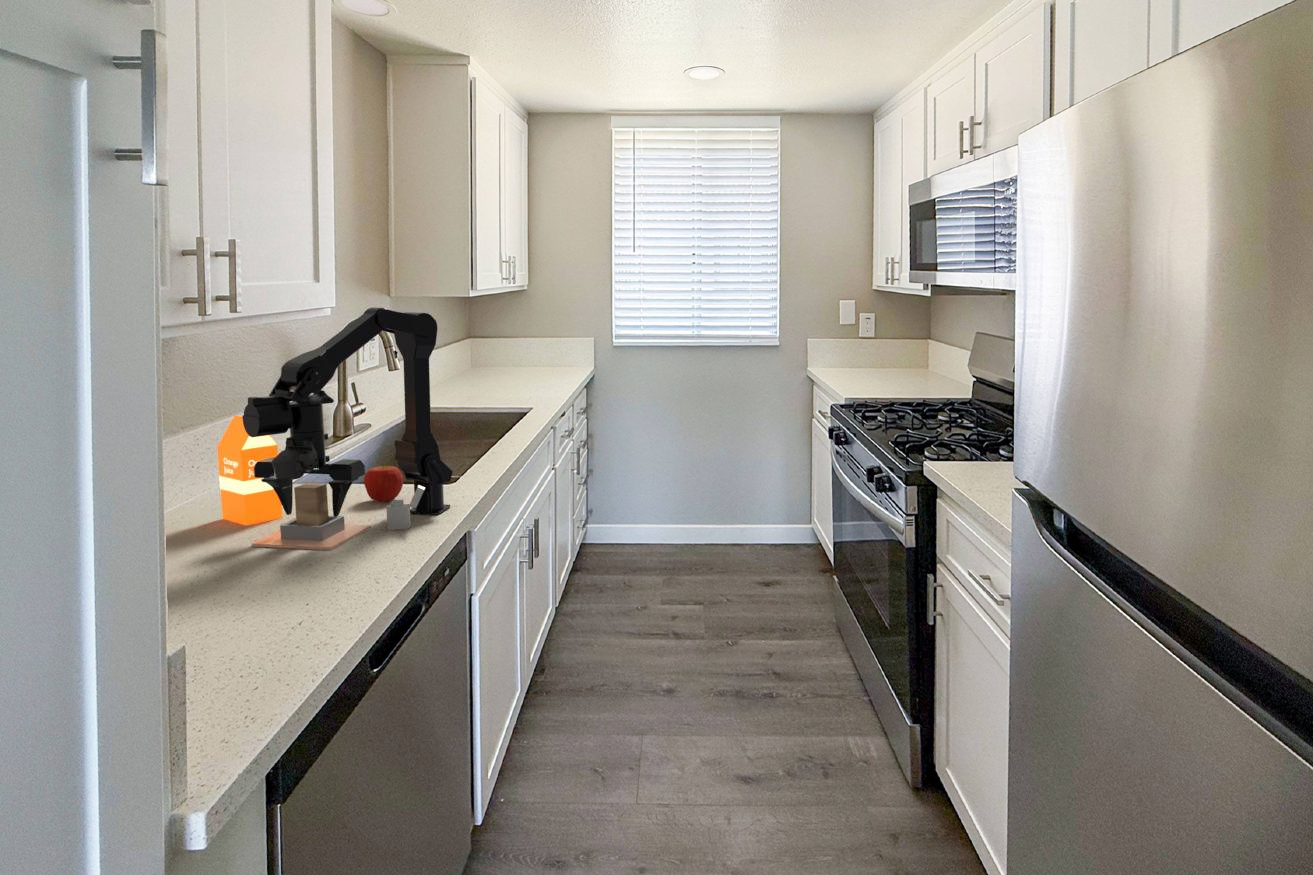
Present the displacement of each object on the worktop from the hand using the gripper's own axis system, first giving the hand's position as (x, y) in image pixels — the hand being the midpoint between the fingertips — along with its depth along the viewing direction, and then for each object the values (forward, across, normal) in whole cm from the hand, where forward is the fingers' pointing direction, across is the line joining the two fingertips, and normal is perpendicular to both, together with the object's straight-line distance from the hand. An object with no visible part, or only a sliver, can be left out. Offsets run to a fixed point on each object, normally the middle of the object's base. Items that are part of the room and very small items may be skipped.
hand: (312, 515), depth 170 cm
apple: (+4, 0, +29) cm, 29 cm away
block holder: (+4, 0, 0) cm, 4 cm away
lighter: (+4, +14, +9) cm, 17 cm away
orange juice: (+4, -19, +11) cm, 22 cm away
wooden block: (+4, 0, 0) cm, 4 cm away
